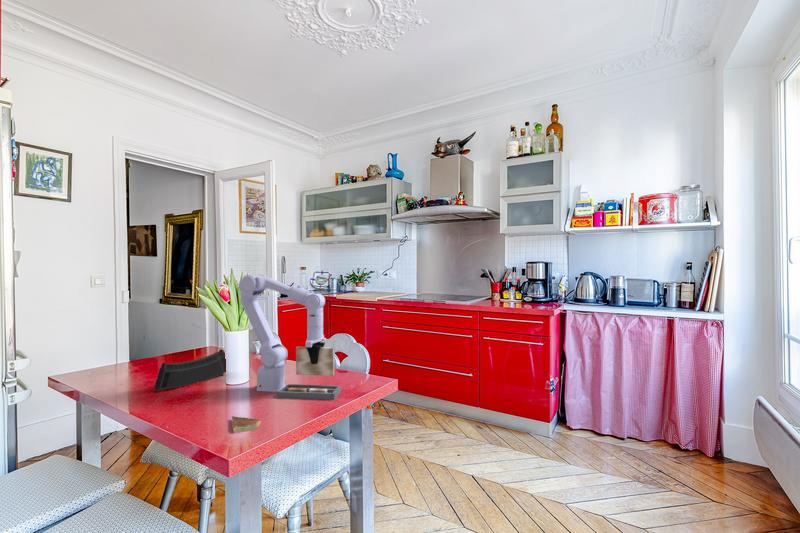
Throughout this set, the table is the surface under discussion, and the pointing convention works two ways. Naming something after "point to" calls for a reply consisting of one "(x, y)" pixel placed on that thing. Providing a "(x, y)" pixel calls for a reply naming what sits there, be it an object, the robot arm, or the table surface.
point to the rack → (330, 395)
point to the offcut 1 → (297, 389)
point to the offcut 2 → (318, 390)
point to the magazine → (190, 371)
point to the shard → (244, 424)
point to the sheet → (321, 368)
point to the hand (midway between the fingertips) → (315, 363)
